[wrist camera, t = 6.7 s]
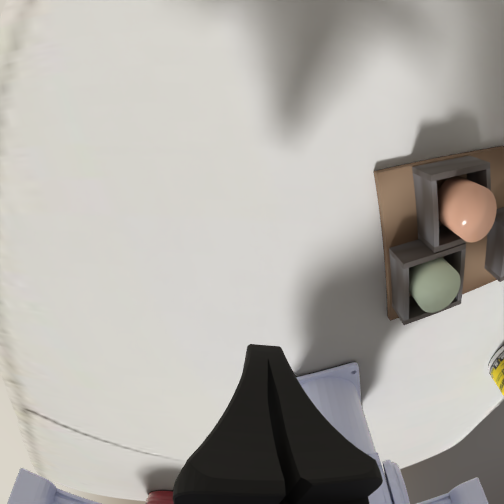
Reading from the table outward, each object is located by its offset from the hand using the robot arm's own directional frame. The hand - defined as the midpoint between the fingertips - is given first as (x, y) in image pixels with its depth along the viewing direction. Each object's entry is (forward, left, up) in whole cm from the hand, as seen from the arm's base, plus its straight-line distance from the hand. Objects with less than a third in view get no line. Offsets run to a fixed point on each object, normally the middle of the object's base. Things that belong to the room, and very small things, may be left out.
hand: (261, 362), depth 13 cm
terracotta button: (+1, -14, -7) cm, 16 cm away
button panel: (-2, -17, -9) cm, 19 cm away
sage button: (-4, -12, -8) cm, 15 cm away
